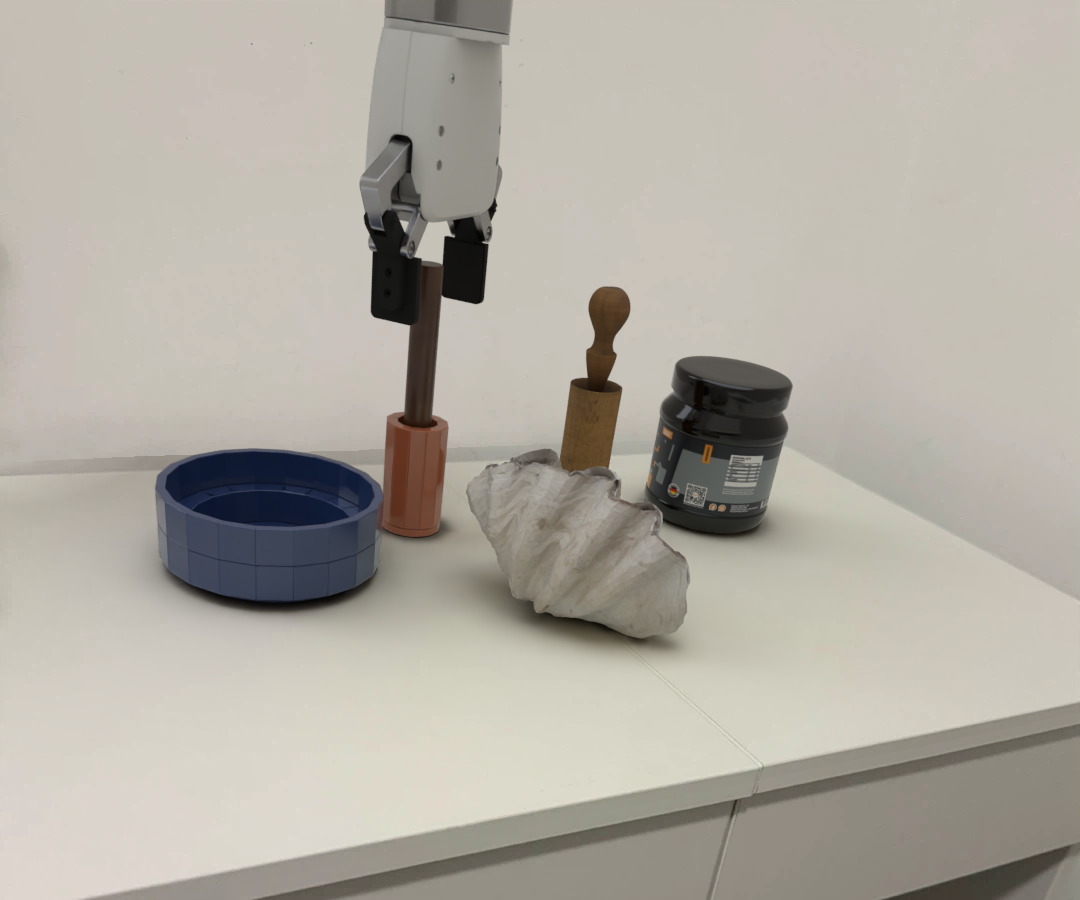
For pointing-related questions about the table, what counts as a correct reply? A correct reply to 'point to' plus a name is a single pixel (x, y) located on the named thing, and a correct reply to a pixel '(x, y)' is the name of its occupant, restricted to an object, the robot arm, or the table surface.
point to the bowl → (269, 524)
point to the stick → (424, 349)
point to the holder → (413, 476)
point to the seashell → (580, 545)
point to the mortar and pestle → (596, 388)
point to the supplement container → (718, 444)
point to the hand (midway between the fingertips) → (429, 310)
